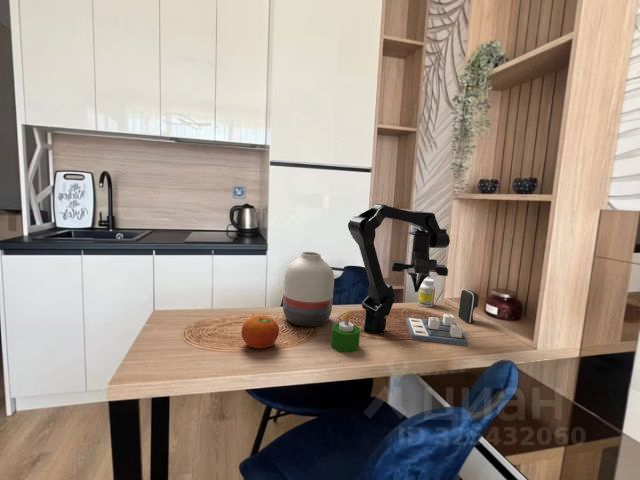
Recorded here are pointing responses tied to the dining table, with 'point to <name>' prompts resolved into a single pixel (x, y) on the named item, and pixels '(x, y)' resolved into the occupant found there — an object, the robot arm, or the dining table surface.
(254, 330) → the fruit
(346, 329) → the candle
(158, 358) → the dining table surface
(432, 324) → the tab mid
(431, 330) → the switch bank
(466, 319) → the dark grey upright slab
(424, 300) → the pill bottle
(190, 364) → the dining table surface
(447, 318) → the tab far
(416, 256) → the robot arm
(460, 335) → the tab near
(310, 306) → the vase
